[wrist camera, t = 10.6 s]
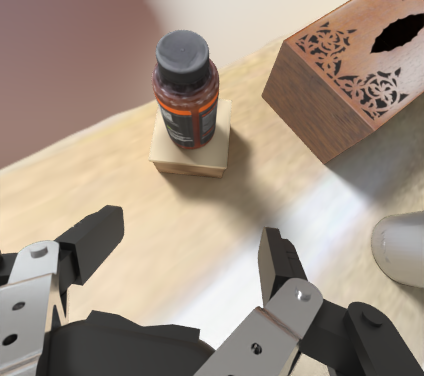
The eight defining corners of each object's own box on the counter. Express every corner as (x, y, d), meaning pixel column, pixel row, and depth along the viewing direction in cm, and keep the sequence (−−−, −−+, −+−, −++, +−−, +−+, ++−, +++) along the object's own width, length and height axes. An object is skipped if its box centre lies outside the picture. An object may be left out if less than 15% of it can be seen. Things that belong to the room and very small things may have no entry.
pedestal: (227, 121, 33) (232, 100, 28) (222, 179, 30) (226, 167, 26) (166, 114, 33) (160, 92, 28) (157, 173, 30) (148, 159, 25)
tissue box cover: (322, 165, 32) (374, 131, 22) (260, 97, 34) (283, 40, 25) (427, 81, 37) (507, 24, 27) (366, 27, 39) (419, -43, 30)
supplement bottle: (218, 112, 27) (229, 25, 16) (211, 155, 26) (217, 90, 15) (172, 105, 27) (152, 12, 16) (162, 147, 26) (133, 76, 15)
